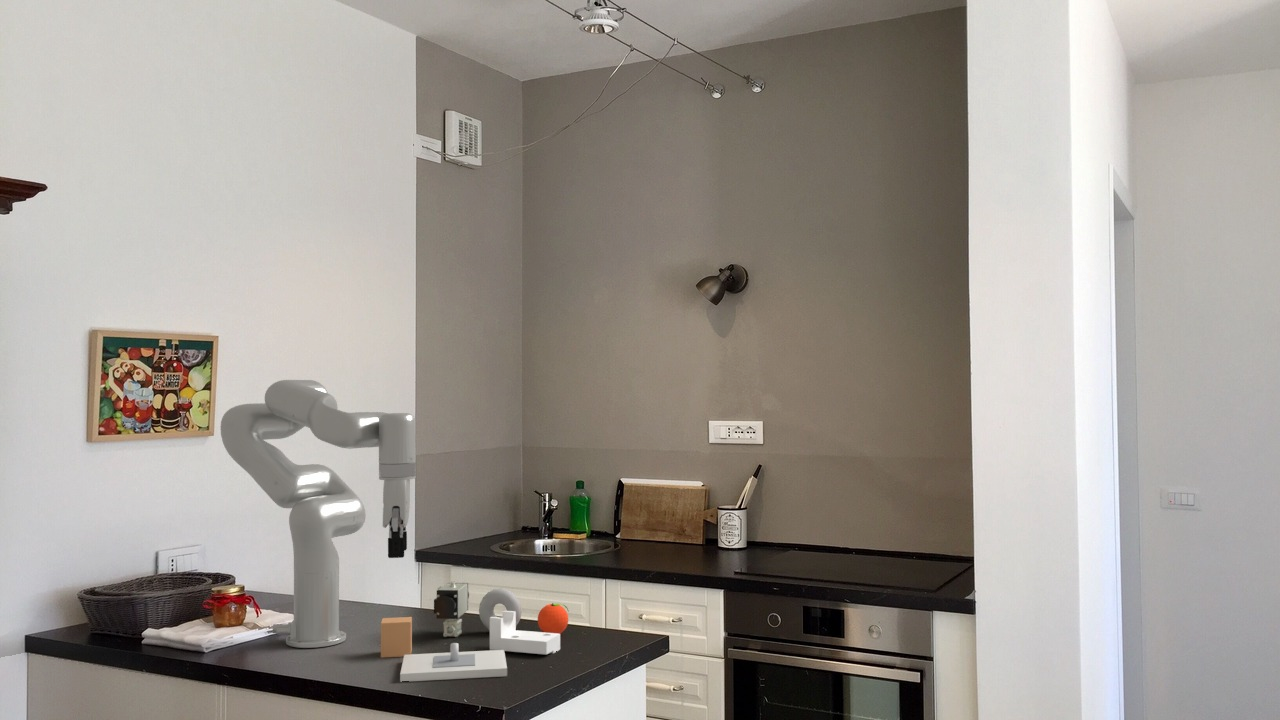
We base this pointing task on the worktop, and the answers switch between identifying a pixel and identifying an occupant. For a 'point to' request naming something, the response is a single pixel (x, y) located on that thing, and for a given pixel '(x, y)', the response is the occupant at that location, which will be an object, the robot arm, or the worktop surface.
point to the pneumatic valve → (451, 606)
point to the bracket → (520, 637)
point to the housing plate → (453, 665)
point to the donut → (498, 598)
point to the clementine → (553, 618)
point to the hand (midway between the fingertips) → (397, 553)
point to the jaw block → (396, 637)
